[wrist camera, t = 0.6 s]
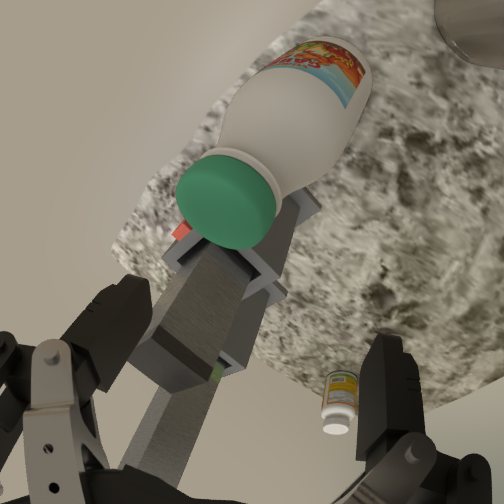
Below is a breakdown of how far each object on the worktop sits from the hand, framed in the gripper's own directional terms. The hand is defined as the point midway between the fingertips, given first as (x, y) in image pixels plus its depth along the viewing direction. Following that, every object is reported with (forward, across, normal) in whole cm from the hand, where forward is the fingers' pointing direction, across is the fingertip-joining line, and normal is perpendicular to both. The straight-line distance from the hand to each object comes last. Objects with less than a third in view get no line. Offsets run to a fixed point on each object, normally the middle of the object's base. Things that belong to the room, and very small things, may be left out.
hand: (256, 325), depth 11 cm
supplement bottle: (+26, -13, +35) cm, 46 cm away
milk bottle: (+23, -1, -8) cm, 24 cm away
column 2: (+18, +7, +20) cm, 28 cm away
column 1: (+24, +5, +7) cm, 25 cm away
